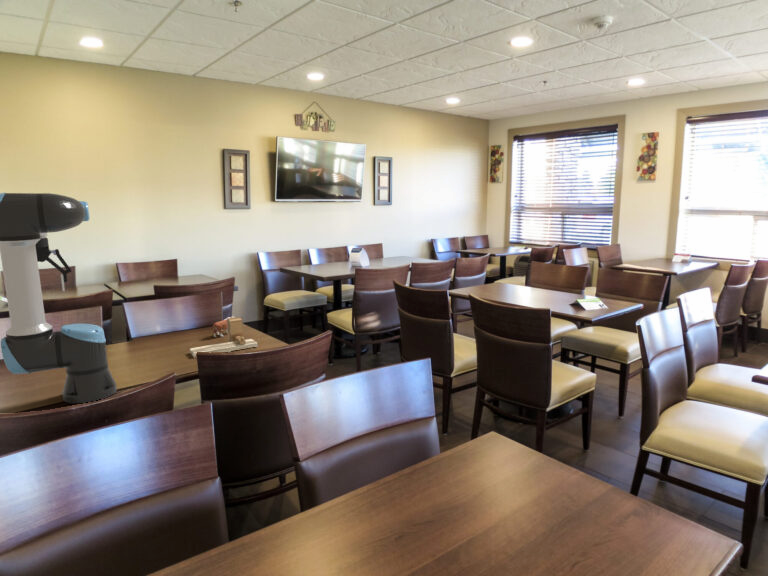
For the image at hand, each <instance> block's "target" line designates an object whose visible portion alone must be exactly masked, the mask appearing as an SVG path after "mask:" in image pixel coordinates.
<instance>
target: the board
mask: <svg viewBox="0 0 768 576" xmlns="http://www.w3.org/2000/svg"><path fill="white" fill-rule="evenodd" d="M244 340H245V341H246V344H240V343H238V342H237V341H233V342H228V341H227V342H220V343H216V344H215V343H213V344H210V345H209V344H208V345H203V346H197V347H191V348H189V353H190V355H191V356H192V357H193V358H194V359H197V358H196V353H197V352H209V353H211V352H228V353H232V352H231V351H233V350H239V349H245V348H251V347H257V348H258V347H259V346H258V345H259V344H258V342H257V341H255V340H254V339H253V338H247V339H244ZM251 349H252V348H251Z"/></svg>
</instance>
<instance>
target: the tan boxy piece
mask: <svg viewBox="0 0 768 576" xmlns="http://www.w3.org/2000/svg"><path fill="white" fill-rule="evenodd" d="M226 319H227V331H228V334H227V342H233V341H237V342H238V343H240V344H246V341H245V340H246V339H245V337H244V332H243V331H244V329H243V319H242V318H241V317H239V316H237V317H236V316H234V318H228V317H226Z"/></svg>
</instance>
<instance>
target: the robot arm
mask: <svg viewBox="0 0 768 576" xmlns="http://www.w3.org/2000/svg"><path fill="white" fill-rule="evenodd" d="M88 221H90V210H89V203H88V202H87V201H80V200H77V199H75V198H74V197H70V196H67V195H62V194H57V193H50V192H46V193H45V192H43V193H36V192H35V193H33V192H31V193H30V192H29V193H28V192H26V193H24V192H23V193H21V192H20V193H19V192H13V193H12V192H0V261H1V266H2V267H1V268H2V274H3V279H4V285H5V292H6V293H5V294H6V295H5V296H6V300H7V305H8V306H7V307H8V314H9V315H8V316H9V320H10V327H8V329H7V330H6V331H5V335H6V336H4V337H2V338H1V340H0V349H1V354H2V355H1V356H2V359H3V361H4V364H5V367H6V369H7V370H8V371H9V372H10V373H11V374H13V375H21V374H32V373H37V372H44V371H51V370H58V369H63V368H65V370H66V371H65V372H66V378H65V382H64V384H63V390H62V400H63V401H64V402H65V403H68V404H87V403H86V402H88V403H92V402H91V401H94V402H97V401H96V400H98V401H100V400H99V399H101V400H103V399H106V398H109V397H111V396H113V395H115V393H117V391H118V390H117V383H116V380H115V378H114V377H113V375H112V374H111V371H110V369H109V363H108V361H109V360H108V356H107V355H108V354H107V346H106V345H107V344H106V341H107V340H106V337H105V331H104V328H103V327H101V326H100V325H96V324H92V323H71V324H65V325H62V326H61V327H60V330H59V331H58V330H57V331H53V330H54V329H53V325H51V324H50V323H48V322H47V321H46V315H45V308H44V307H45V306H44V298H43V292H42V285H41V277H40V270H39V264H38V263H39V262H40V263H44V262H46V261H47V262H48V263H49V264H50V265H51V266H53V267H54V268H55V269H57V271H59V272H60V273H61V274H60V279H61V280H60V282H61V288H62V292H66V290H65V283H67V282H68V276H67V274H69V273H72V269H71V267H70V266H69V265H68V263H67V262H66V261H65V259H64V258H63V256H62V255H61V253H60V250H59V249H58V248H56V249H52V250H51V249H50V245H49V239H48V237H47V236H48V234H49V233H58V232H63V231H67V230H70V229H73V228H75V227H79V226H80V225H81V224H82V223H83V222H88ZM52 254H53V256H56V258H57V259H58V260H59V261H60V263H61V264H62V266H63V267H64V268H65V269H64V268H62V266H60V265H59V264H57V262H56V261H54V260H52V258H51V257H50V256H51V255H52Z"/></svg>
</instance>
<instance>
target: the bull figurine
mask: <svg viewBox="0 0 768 576" xmlns="http://www.w3.org/2000/svg"><path fill="white" fill-rule="evenodd" d="M234 317H235V316H234V315H232V316H230V317H229V316H228V317H227V318H234ZM227 318H225V319H223V320H221V321H217V322H214V323H213V324H212V328H213V331H212V332H213V337H214V338H217V335H218V336H220V337H225V336H224V334H222V332H223V331H225V334H227V335H228V331H227ZM216 333H217V335H216Z"/></svg>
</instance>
